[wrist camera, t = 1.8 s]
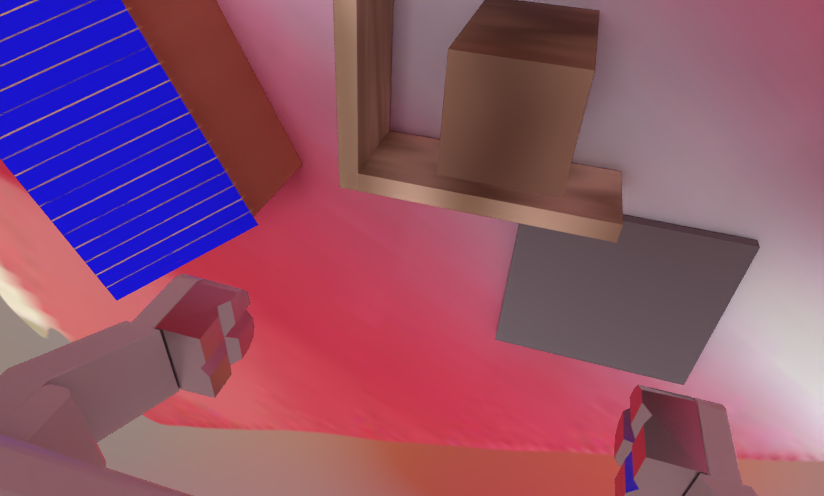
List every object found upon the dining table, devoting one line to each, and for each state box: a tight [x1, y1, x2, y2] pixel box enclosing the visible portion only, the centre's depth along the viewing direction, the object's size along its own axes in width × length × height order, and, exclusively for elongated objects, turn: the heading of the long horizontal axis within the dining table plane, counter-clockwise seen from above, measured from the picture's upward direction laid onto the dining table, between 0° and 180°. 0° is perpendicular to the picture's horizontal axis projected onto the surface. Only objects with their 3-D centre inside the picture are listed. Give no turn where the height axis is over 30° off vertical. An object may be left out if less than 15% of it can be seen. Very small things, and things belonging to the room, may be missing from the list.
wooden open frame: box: [333, 0, 623, 243], centre depth 25 cm, size 14×12×5 cm
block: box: [437, 0, 599, 198], centre depth 23 cm, size 5×5×8 cm
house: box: [0, 0, 302, 300], centre depth 27 cm, size 12×20×12 cm, turn 22°
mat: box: [495, 215, 760, 385], centre depth 33 cm, size 12×11×1 cm
